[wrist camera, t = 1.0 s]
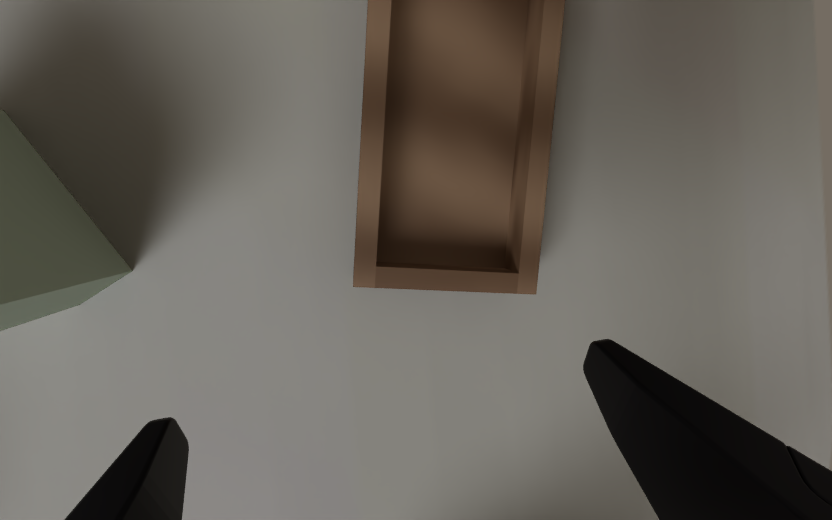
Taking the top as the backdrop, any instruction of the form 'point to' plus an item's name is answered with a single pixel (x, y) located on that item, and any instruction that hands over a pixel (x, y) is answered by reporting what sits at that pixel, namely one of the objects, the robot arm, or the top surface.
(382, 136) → the brown wooden tray
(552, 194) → the top surface
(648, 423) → the robot arm
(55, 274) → the pale green rectangular block
